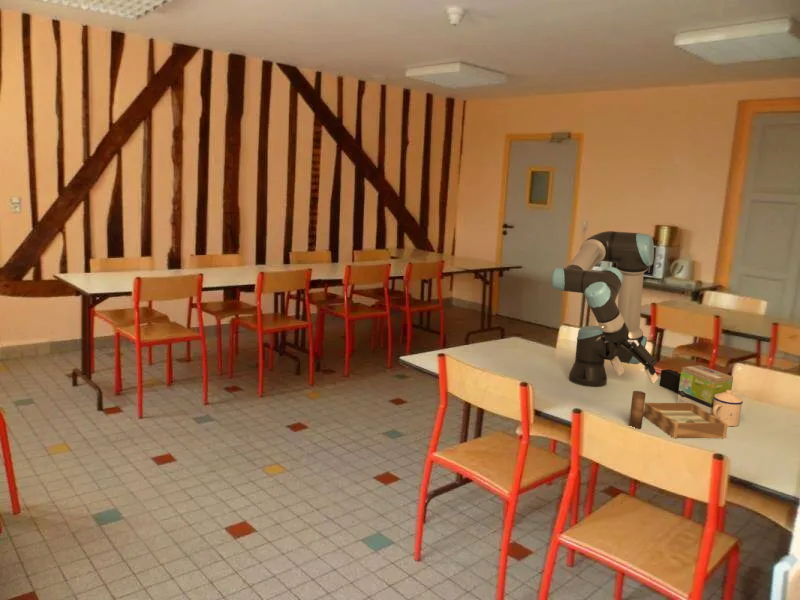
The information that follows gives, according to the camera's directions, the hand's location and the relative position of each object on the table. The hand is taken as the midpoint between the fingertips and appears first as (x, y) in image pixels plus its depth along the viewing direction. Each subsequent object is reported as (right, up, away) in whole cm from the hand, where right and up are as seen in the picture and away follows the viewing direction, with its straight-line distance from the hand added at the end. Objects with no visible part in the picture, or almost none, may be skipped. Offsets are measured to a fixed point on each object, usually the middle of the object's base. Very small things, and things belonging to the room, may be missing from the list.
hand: (637, 376), depth 206 cm
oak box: (+18, -18, +6) cm, 26 cm away
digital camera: (+33, -11, +48) cm, 60 cm away
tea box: (+34, -15, +26) cm, 45 cm away
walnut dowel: (+1, -17, +4) cm, 18 cm away
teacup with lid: (+34, -18, +12) cm, 40 cm away
